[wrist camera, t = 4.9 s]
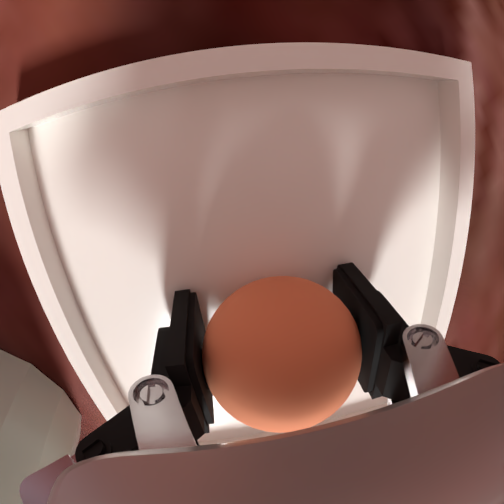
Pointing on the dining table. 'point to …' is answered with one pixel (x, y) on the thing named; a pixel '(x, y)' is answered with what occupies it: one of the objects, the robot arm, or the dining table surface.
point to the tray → (237, 193)
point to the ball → (281, 354)
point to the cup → (31, 424)
